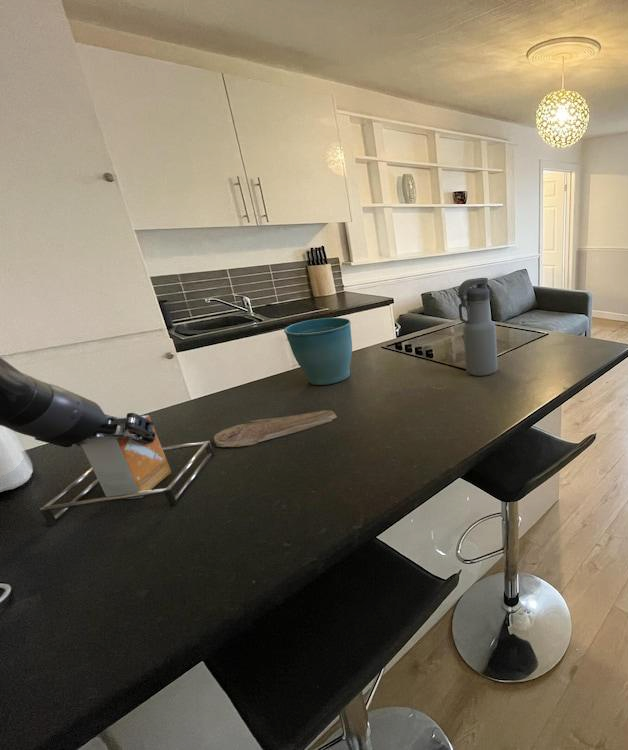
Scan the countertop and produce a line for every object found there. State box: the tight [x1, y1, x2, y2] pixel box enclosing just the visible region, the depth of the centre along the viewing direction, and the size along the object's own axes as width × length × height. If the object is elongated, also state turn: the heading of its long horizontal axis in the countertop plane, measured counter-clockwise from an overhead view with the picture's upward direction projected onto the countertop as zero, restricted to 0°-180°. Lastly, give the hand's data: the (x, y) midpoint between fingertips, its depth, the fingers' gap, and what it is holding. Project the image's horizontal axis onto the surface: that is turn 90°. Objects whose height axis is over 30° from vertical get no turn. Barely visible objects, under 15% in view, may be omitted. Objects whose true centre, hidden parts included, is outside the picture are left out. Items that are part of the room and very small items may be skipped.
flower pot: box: [283, 317, 353, 386], centre depth 122 cm, size 18×18×17 cm
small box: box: [81, 414, 172, 500], centre depth 75 cm, size 8×6×13 cm
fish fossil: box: [213, 409, 338, 448], centre depth 97 cm, size 26×10×1 cm, turn 123°
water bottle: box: [457, 277, 499, 377], centre depth 121 cm, size 10×10×28 cm
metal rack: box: [39, 440, 215, 527], centre depth 77 cm, size 19×17×4 cm
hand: (128, 441), depth 76 cm, fingers closed on small box, 7 cm apart
